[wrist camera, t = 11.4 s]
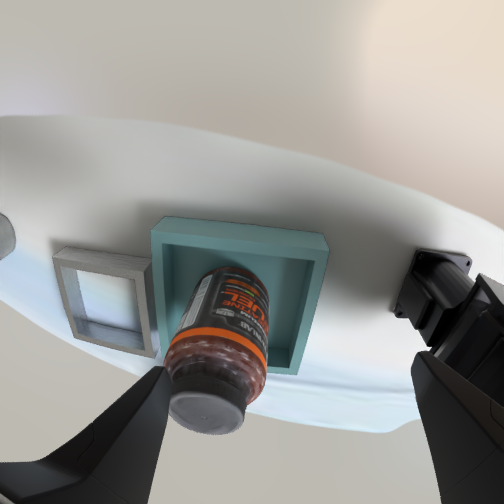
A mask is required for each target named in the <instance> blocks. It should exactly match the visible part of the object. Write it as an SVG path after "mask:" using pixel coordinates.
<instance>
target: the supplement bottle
mask: <svg viewBox="0 0 504 504" xmlns="http://www.w3.org/2000/svg"><path fill="white" fill-rule="evenodd" d="M268 331H269V296H268V292H267V290H266V288H265V286H264V285H263V283H262V282H261V281H260V280H259V279H258V278H257V277H256V276H255V275H254V274H252V273H250V272H248V271H246V270H243V269H240V268H235V267H221V268H217V269H214V270H212V271H210V272H208V273H206V274H205V275H204V276H203V277H202V278H201V279H200V280H199V282H198V283H197V285H196V287H195V289H194V291H193V293H192V295H191V297H190V300H189V302H188V304H187V307H186V309H185V311H184V313H183V316H182V318H181V320H180V322H179V325H178V327H177V329H176V332H175V334H174V336H173V338H172V341H171V343H170V346H169V348H168V350H167V353H166V356H165V359H164V364H163V367H165V368H166V369H167V371H168V373H169V376H170V378H171V381H172V391H171V398H170V405H169V415H170V416H171V417H172V418H173V419H174V420H175V421H176V422H177V423H179V424H180V425H181V426H183V427H185V428H187V429H189V430H193V431H195V432H199V433H203V434H211V435H222V434H228V433H231V432H234V431H235V430H237V429H239V428H240V427H241V426H242V424H243V421H244V415H245V410H246V407H247V405H249V404H250V403H251V402H253V401H254V400H255V399H256V398H257V397H258V396H259V395H260V394H261V392H262V390H263V388H264V385H265V380H266V369H267V352H268Z"/></svg>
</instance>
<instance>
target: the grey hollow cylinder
mask: <svg viewBox="0 0 504 504" xmlns="http://www.w3.org/2000/svg"><path fill="white" fill-rule="evenodd" d="M15 244H16V239H15V233H14V230H13V227H12V225H11V223H10V222H9V220H8V219H7V218H6V217H5V216H3V215H0V260H2V259H3V258H4V257H6V256H7V255H9V254H10V253H11V252H12V251H13V250H14V248H15Z"/></svg>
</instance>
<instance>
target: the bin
mask: <svg viewBox="0 0 504 504" xmlns="http://www.w3.org/2000/svg"><path fill="white" fill-rule="evenodd" d="M150 235H151V255H152V271H153V284H154V295H155V305H156V315H157V324H158V332H159V340H160V347H161V354H162V357H163V358H165V356H166V353H167V350H168V348H169V346H170V343H171V341H172V338H173V336H174V334H175V332H176V329H177V327H178V325H179V322H180V320H181V318H182V316H183V313H184V311H185V309H186V307H187V304H188V302H189V300H190V297H191V295H192V293H193V291H194V289H195V287H196V285H197V283H198V282H199V280H200V279H201V278H202V277H203V276H204V275H205V274H206V273H208V272H210V271H212V270H214V269H217V268H221V267H235V268H240V269H243V270H246V271H248V272H250V273H252V274H254V275H255V276H256V277H257V278H258V279H259V280H260V281H261V282H262V283H263V285H264V286H265V288H266V290H267V292H268V296H269V331H268V352H267V369H266V373H276V374H289V375H297V373H298V370H299V367H300V363H301V360H302V357H303V353H304V350H305V346H306V343H307V339H308V336H309V332H310V329H311V325H312V321H313V317H314V314H315V310H316V306H317V302H318V298H319V294H320V290H321V286H322V282H323V278H324V274H325V269H326V265H327V261H328V256H329V252H330V250H329V248H328V245H327V243H326V241H325V238H324V236H323V234H322V233H314V232H307V231H299V230H290V229H282V228H274V227H265V226H256V225H247V224H238V223H229V222H220V221H210V220H200V219H190V218H180V217H169V216H165V217H164V218H163V219H162V220H161V221H160V222H159V223H158V224H156V225H155V226H154V227H153V228H152V229H151V230H150Z"/></svg>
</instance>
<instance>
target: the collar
mask: <svg viewBox="0 0 504 504" xmlns="http://www.w3.org/2000/svg"><path fill="white" fill-rule="evenodd" d="M52 258H53V263H54V268H55V272H56V277H57V281H58V285H59V289H60V293H61V297H62V300H63V304H64V307H65V311H66V314H67V318H68V321H69V324H70V327H71V330H72V333H73V336H74V338H76V339H79V340H83V341H86V342H90V343H93V344H97V345H100V346H104V347H108V348H111V349H115V350H119V351H123V352H127V353H131V354H136V355H140V356H144V357H149V358H154V359H155V357H156V354H157V352H158V350H159V348H160V340H159V332H158V324H157V315H156V305H155V295H154V284H153V271H152V259H151V258H143V257H136V256H129V255H121V254H114V253H107V252H100V251H93V250H86V249H79V248H72V247H64V248H63V249H62V250H60V251H59V252H58V253H57V254H55V255H54V256H53V257H52ZM76 270H82V271H87V272H93V273H98V274H104V275H110V276H116V277H122V278H128V279H134V280H135V285H136V294H137V301H138V308H139V315H140V322H141V328H142V333H137V332H132V331H128V330H123V329H119V328H114V327H110V326H106V325H102V324H98V323H94V322H90V321H88V319H87V316H86V312H85V308H84V304H83V300H82V296H81V291H80V287H79V282H78V277H77V272H76Z"/></svg>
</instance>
